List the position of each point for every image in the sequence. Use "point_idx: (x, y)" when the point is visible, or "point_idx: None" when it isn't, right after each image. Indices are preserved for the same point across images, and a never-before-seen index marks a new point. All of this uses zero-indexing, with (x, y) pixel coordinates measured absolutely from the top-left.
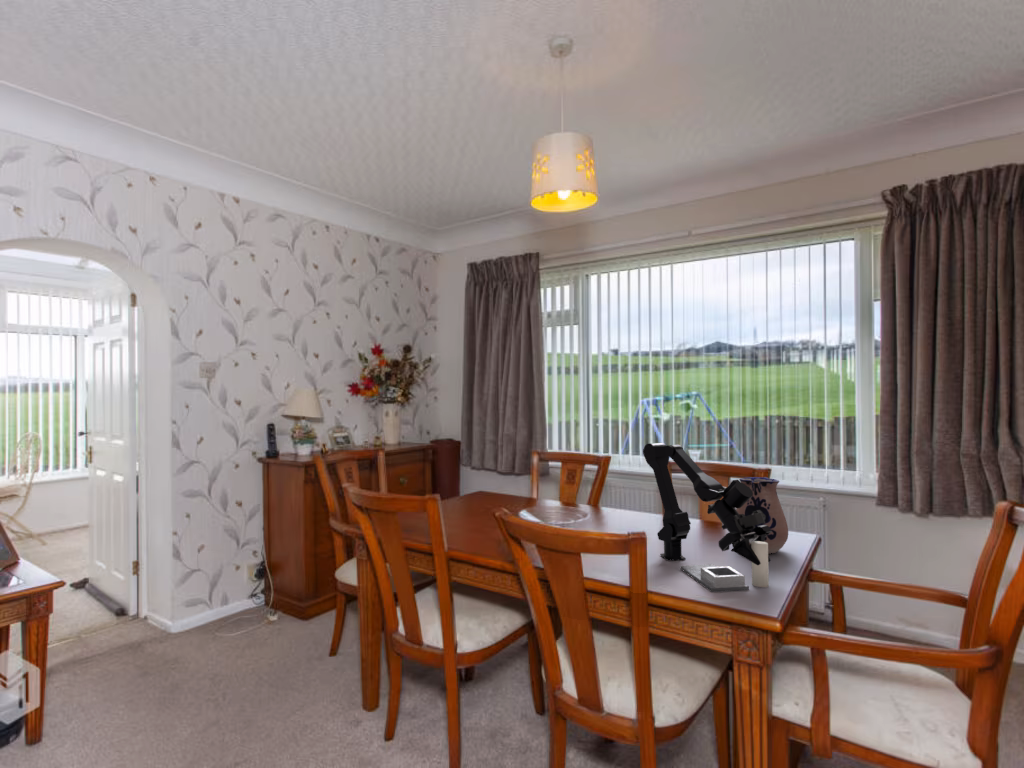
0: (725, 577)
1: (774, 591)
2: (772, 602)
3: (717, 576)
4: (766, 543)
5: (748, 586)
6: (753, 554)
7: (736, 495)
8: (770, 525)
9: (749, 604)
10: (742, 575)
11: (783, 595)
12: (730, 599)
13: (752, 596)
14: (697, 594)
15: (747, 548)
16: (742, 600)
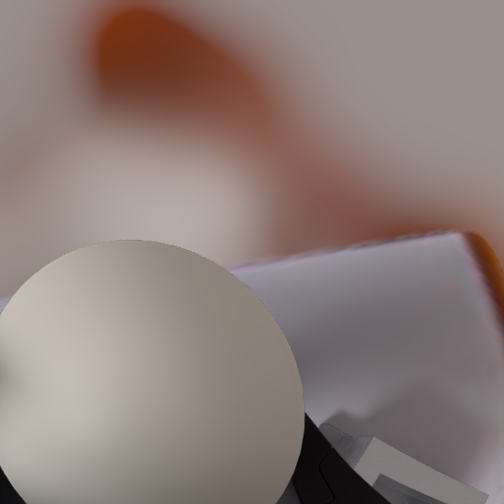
0: (454, 481)
1: None
2: (382, 279)
3: (476, 499)
4: (72, 273)
5: (329, 424)
6: (315, 431)
7: None
8: None
9: (457, 329)
10: (378, 448)
11: (266, 274)
12: (469, 401)
13: (386, 367)
14: (495, 494)
15: (382, 499)
16: (448, 367)
